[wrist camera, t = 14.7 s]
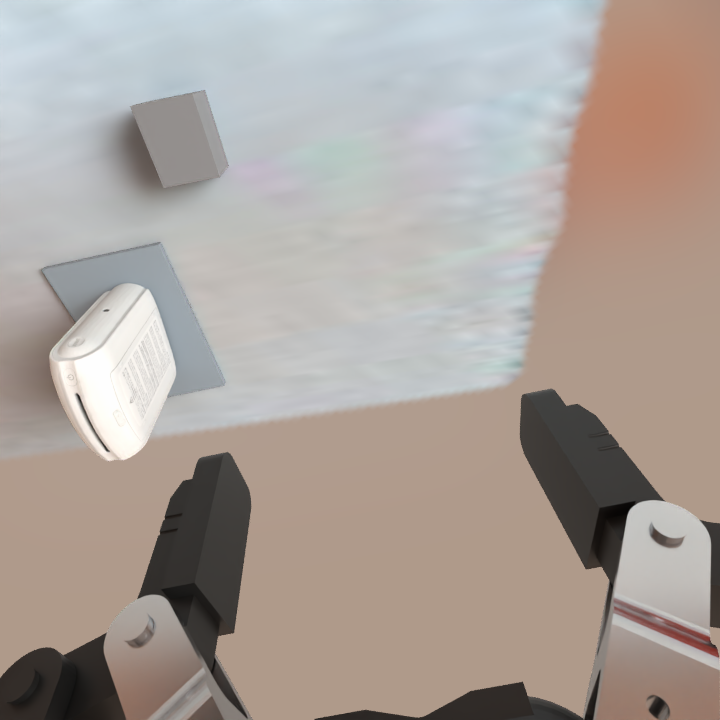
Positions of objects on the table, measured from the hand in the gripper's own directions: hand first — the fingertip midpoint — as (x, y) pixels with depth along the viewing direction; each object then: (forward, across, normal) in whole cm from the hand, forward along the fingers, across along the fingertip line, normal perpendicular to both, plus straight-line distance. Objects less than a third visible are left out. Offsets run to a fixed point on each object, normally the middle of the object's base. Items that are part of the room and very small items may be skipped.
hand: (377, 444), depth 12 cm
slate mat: (+28, +20, +8) cm, 36 cm away
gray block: (+28, +10, -6) cm, 30 cm away
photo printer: (+28, +20, +8) cm, 35 cm away
